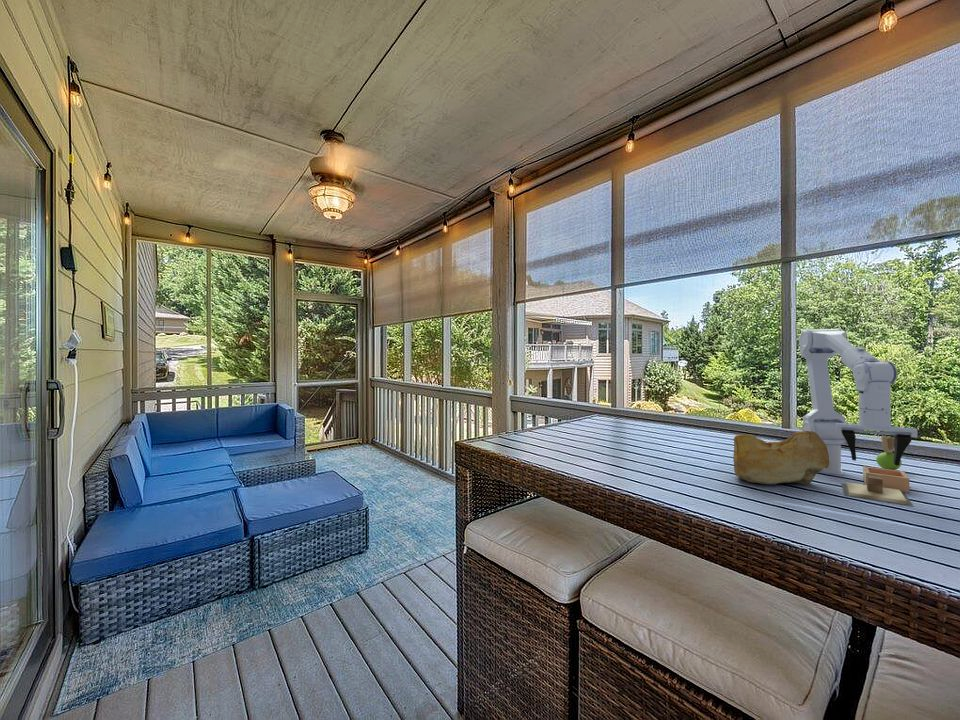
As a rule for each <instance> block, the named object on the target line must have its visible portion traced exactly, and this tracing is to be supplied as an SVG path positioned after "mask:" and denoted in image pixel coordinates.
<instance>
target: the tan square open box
mask: <svg viewBox="0 0 960 720" xmlns="http://www.w3.org/2000/svg"><path fill="white" fill-rule="evenodd" d="M867 475H869V476H877V477H881V478H882V479H883V487H884V488H891V489H897V490H900V491H901V492H903V493H910V477H909V476H908V475H907V473H906V472H905V471H904V470H898V469H896V470H889V469H884V468H882V467H872V466H864V465H863V466H862V480H863V483H864V485H867Z"/></svg>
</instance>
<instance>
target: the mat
mask: <svg viewBox="0 0 960 720" xmlns="http://www.w3.org/2000/svg"><path fill="white" fill-rule="evenodd" d="M840 484H841V488H842V492H843V496H844V497H850V498H857V499H861V500H862V499H863V500H868V501H874V502H881V503H889V504H893V505H900V506H906V507H911V508H914V507H915V506H914V504H913V503H912V501H911V500H910V499H909V497H908V495H907V494H906V492H902V491H901V493H902V494H903V496H904V497H905V499H906V500H907V504H901V503H894V502H888V501H882V500H876V499H869V498H863V497H857V496H851V495H849V492H848V489H847V485H846V483H840Z"/></svg>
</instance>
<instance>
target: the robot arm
mask: <svg viewBox="0 0 960 720" xmlns="http://www.w3.org/2000/svg"><path fill="white" fill-rule="evenodd" d="M798 344H799V351H800V356H801V357H802V358H805V361H806V368H807V375H808V382H809V383H808V384H809V390H810V400H811V407H812V410H811V411H810V412H808V413H806V414H805V415H804V416H803V417H802V427H801V430H802V431H813V432H815V433H816V434H818V435H819V437H820V438H821V440H823V441H824V443H825V445H826V447H827V451H828V455H829V466H828V468H824V469H823V470H822V471H820V472H819V473H821V474H822V473H823V474H830V475H838V476H844V472H843V468H842V450H841V449H842V445H845V443H844V442H846V443H847V445H848V448H849V450H850V457H851V459H852V461H857V452H856V433H861V434H862V433H864V434H875V435H876V434H877V435H885V436H887V435H889V436H893V438H894V449H893V453H894V464H895V465H899V463H900V459H901V458H902V456H903V454H904V452H905V451H906V449H907V447H908V446H910V443H911V442H912V438H916V439H917V438H918V429H917V428H914V427H904V426H903V427H901V426H893V425H891V424H892V423H891V421H892V420H891V419H892V418H891V415H892V414H891V410H892V409H891V408H892V407H891V405H892V404H891V401H892V400H891V395H892V393H891V390H892V389H891V388H892V387H891V385H892V384H894V383H896V380H897V379H898V369H897V367H896V365H895V364H894V363H893V362H892V361H890V360H886V361H885V360H884V361H883V360H880V359H878V358H877V357H876V356H874V355H873V354H872V353H871V352H869V351H867V350H866V348H865V347H864V346H856V347H855V346H854V345H853V344H852V343H850V341H849V340H848V339H847V332H846V331H844V330H843V329H842V328H839V327H837V328H826V329H825V328H822V329H819V328H818V329H809V328H806V329H803V331H801V333H800V334H799V338H798ZM837 354H838V355H839V356H840V361H841V363H842V364H843V365H844V366H846V367H847V368H848V369H849V370H850V371H851V372H852V377H853V380H854V382H855V388H856V390H857V391H858V423H847V422H846V418H845V416H844V415H842V414H841V413H838V412H837V411H835V408H834V402H833V401H834V400H833V392H832V387H831V379H830V373H829V368H828V367H829V364H828V360H829V359H831V358H832V357H835V356H836V355H837ZM901 460H902V459H901Z"/></svg>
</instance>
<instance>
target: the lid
mask: <svg viewBox="0 0 960 720" xmlns="http://www.w3.org/2000/svg"><path fill="white" fill-rule="evenodd" d="M845 484H846V485H847V489H848V492H849V495H851V496H857V497H863V498H869V499H876V500H882V501H888V502H894V503H901V504H907V500H906V499H905V497H904V496H903V494H902V493H901V492H902V491H900V490H897V489H891V488H884V487H883V479H882V478H881V477H877V476H869V475H867V485H865V484H862V483H854V482H850V481H849V482H848V481H847V482H845Z"/></svg>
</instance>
